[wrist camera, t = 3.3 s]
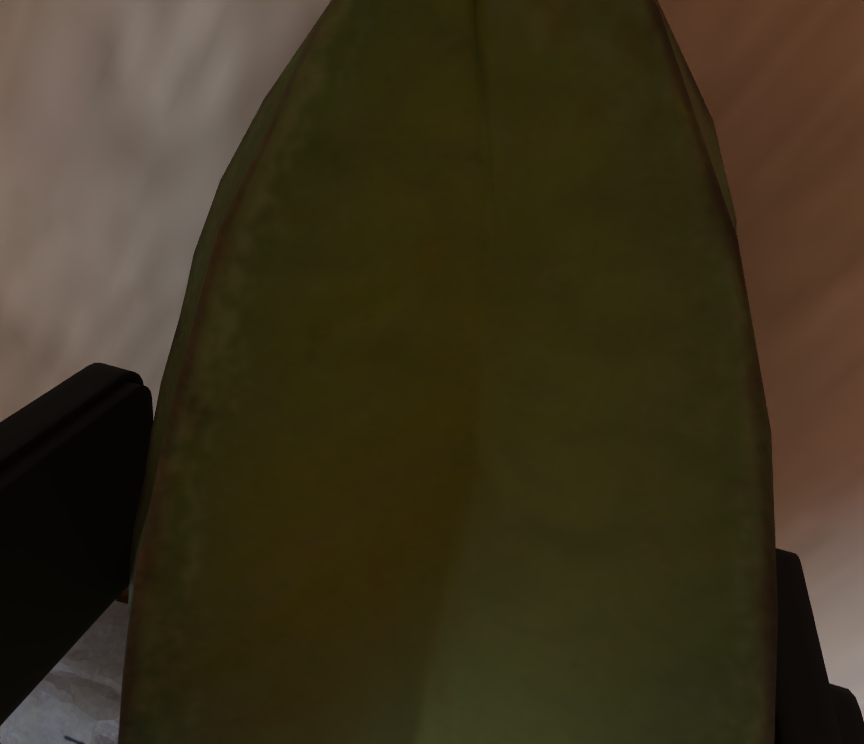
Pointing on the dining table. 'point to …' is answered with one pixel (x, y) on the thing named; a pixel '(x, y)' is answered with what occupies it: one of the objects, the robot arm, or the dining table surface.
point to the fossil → (77, 690)
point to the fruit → (463, 404)
